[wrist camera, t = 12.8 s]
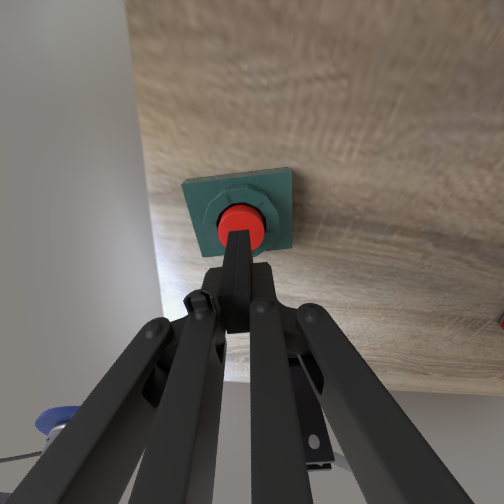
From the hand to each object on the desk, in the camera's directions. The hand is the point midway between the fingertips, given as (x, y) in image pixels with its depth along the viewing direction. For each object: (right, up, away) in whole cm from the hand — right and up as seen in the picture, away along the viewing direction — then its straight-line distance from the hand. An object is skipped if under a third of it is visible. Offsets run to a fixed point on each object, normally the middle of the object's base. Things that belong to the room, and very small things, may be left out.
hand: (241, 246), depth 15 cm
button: (0, +2, +3) cm, 4 cm away
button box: (0, +4, +6) cm, 8 cm away
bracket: (+9, -22, +23) cm, 33 cm away
